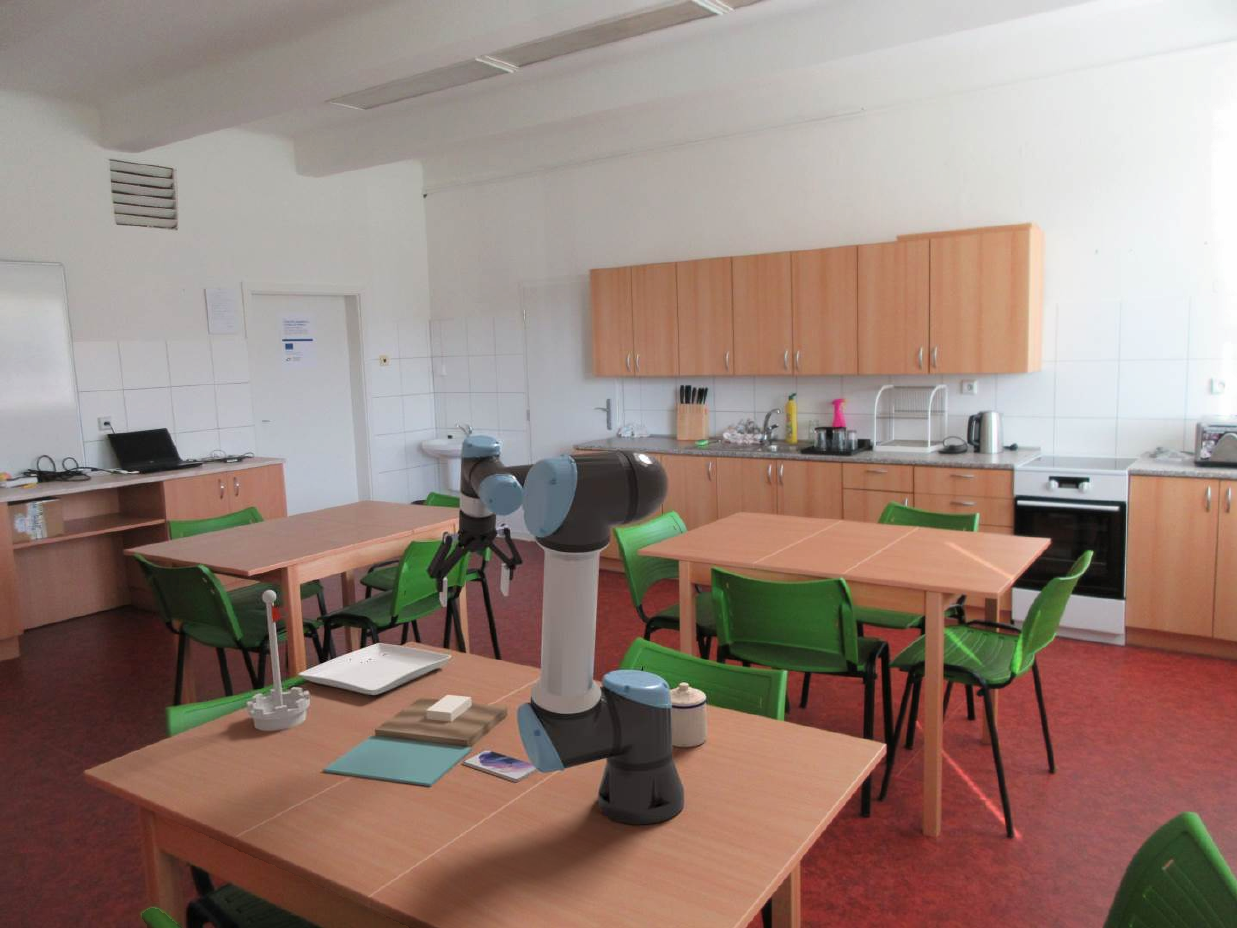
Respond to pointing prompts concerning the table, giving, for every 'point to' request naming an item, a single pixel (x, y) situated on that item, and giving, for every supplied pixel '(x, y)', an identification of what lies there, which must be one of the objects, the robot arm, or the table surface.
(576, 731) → the robot arm
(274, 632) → the flag stand
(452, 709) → the ceramic tile
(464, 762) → the smartphone
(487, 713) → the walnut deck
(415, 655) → the square plate
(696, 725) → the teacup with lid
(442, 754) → the teal mat
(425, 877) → the table surface
